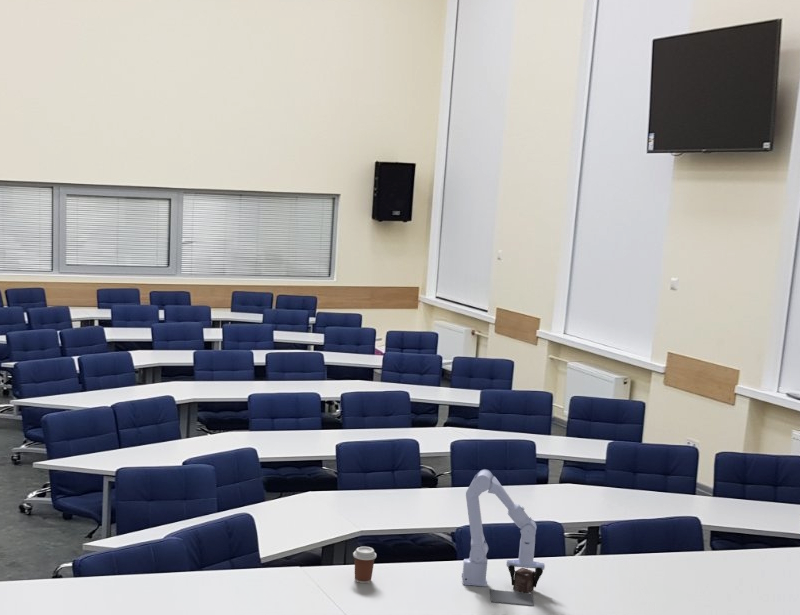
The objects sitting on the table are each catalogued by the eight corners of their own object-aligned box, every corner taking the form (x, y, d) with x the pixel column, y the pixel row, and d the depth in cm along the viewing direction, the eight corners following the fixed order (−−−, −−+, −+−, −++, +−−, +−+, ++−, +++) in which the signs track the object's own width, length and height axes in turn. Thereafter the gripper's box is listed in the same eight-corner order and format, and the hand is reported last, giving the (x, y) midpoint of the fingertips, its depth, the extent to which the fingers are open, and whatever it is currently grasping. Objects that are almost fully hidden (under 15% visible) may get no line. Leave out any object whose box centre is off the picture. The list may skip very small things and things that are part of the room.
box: (520, 585, 378) (522, 567, 377) (534, 589, 374) (535, 571, 374) (512, 589, 373) (514, 571, 372) (526, 594, 370) (527, 575, 369)
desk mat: (491, 602, 359) (491, 601, 359) (489, 590, 370) (489, 589, 370) (534, 606, 359) (534, 605, 359) (531, 594, 370) (531, 593, 370)
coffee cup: (353, 584, 365) (356, 554, 364) (348, 575, 374) (351, 545, 373) (377, 584, 368) (379, 553, 367) (371, 574, 377) (373, 545, 375)
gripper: (508, 553, 368) (505, 587, 370) (546, 556, 368) (543, 591, 369) (507, 547, 375) (504, 580, 377) (544, 550, 375) (541, 583, 376)
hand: (523, 585), depth 373 cm, fingers closed on box, 7 cm apart
